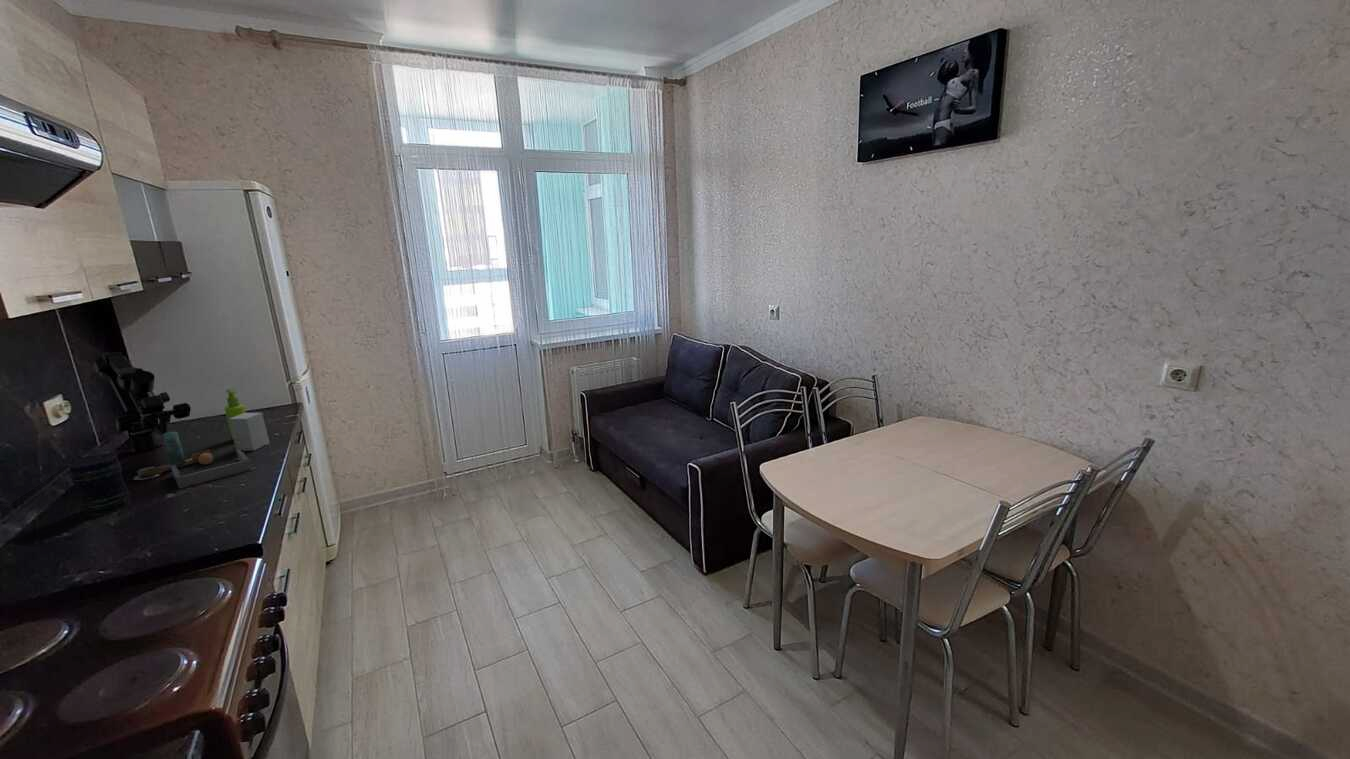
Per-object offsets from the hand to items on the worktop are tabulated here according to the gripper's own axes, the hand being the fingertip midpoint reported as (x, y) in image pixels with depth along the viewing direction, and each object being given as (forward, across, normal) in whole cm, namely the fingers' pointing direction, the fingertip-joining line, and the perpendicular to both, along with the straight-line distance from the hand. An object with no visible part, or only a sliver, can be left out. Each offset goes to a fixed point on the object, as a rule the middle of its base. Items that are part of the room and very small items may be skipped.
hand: (165, 435), depth 184 cm
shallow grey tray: (+23, +4, -8) cm, 24 cm away
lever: (+11, -1, +3) cm, 12 cm away
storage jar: (+25, -22, -10) cm, 34 cm away
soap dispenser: (+2, +23, +13) cm, 27 cm away
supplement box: (+12, +21, +3) cm, 25 cm away
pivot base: (+11, -8, +4) cm, 14 cm away
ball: (+14, +6, -1) cm, 15 cm away
